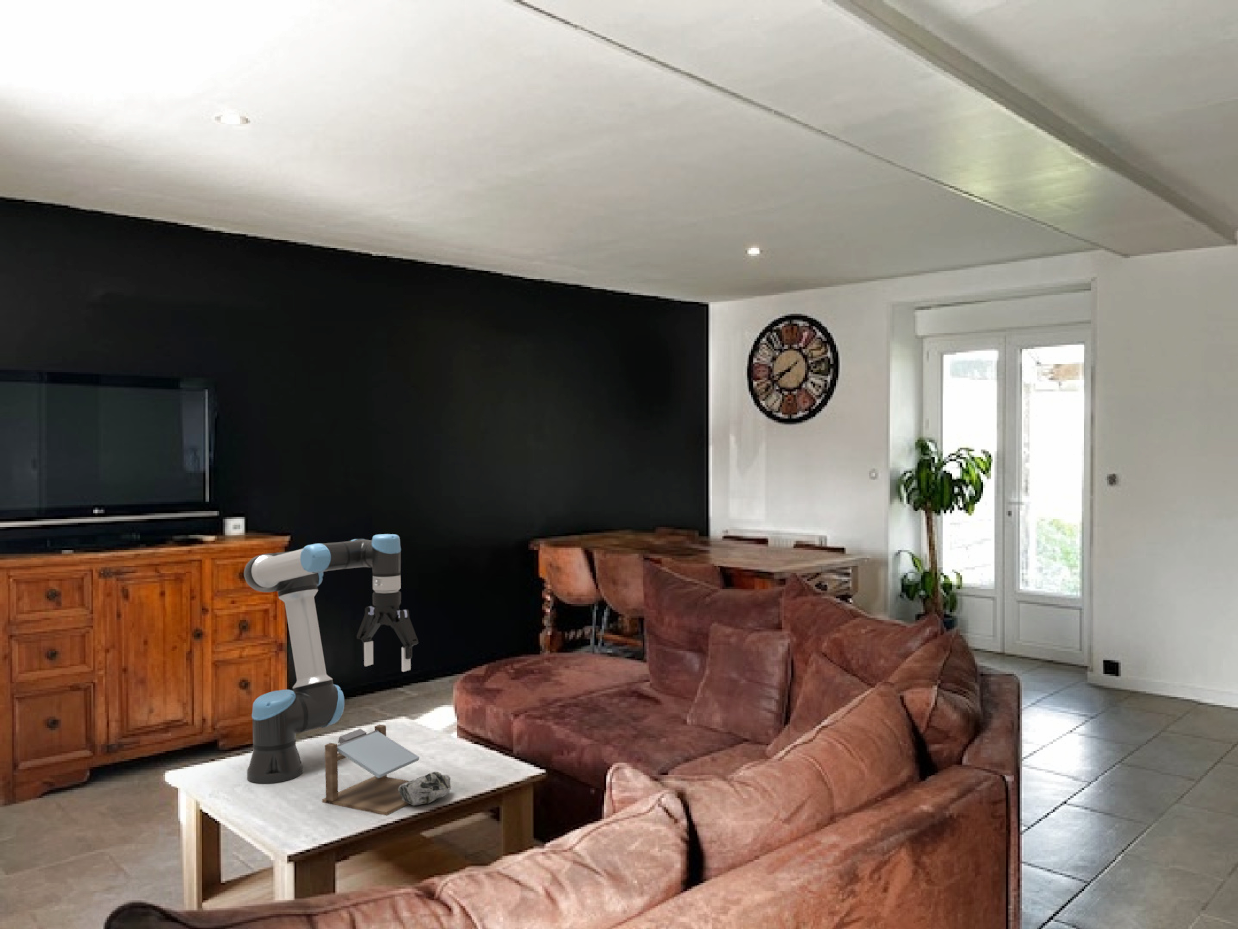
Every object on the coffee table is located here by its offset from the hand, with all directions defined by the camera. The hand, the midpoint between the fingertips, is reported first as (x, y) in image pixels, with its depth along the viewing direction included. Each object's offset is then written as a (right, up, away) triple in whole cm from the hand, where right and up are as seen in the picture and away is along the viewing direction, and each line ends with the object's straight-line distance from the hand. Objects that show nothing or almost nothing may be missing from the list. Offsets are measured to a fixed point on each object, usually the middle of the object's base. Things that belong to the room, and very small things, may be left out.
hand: (387, 668), depth 257 cm
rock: (+11, -27, -8) cm, 30 cm away
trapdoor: (-3, -23, -3) cm, 23 cm away
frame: (-1, -34, -4) cm, 34 cm away
